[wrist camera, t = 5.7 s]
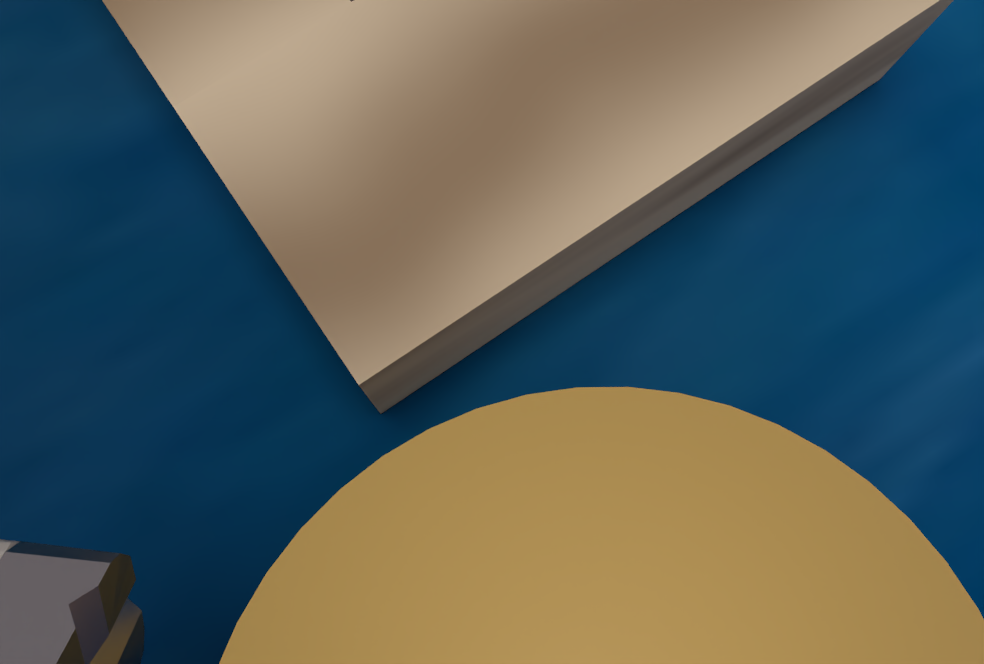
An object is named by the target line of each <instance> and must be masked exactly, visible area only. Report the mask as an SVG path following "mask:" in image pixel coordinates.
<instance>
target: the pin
mask: <svg viewBox="0 0 984 664" xmlns="http://www.w3.org/2000/svg"><path fill="white" fill-rule="evenodd" d="M219 664H984V619H983V617H982V615H981V613H980V612H979V610H978V608H977V606H976V605H975V603H974V602H973V600H972V599H971V598H970V596H969V595H968V593H967V592H966V590H965V589H964V587H963V586H962V584H961V583H960V581H959V580H958V578H957V577H956V575H955V574H954V572H953V571H952V569H951V568H950V566H949V565H948V563H947V562H946V561H945V559H944V558H943V557H942V556H941V555H940V554H939V552H938V551H937V550H936V549H935V548H934V547H933V546H932V544H931V543H930V542H929V541H928V540H927V539H926V537H925V536H924V535H923V534H922V533H921V532H920V530H919V529H918V528H917V527H916V526H915V525H914V523H913V522H912V521H911V520H910V519H909V518H908V517H907V516H906V515H905V514H904V513H903V512H902V511H900V510H899V509H898V508H897V507H896V506H895V505H894V504H893V503H892V502H891V501H890V500H888V499H887V498H886V497H885V496H884V495H883V494H882V493H881V492H880V491H879V490H878V489H876V488H875V487H874V486H873V485H872V484H871V483H870V482H869V481H867V480H866V479H865V478H863V477H862V476H860V475H859V474H858V473H856V472H855V471H853V470H852V469H851V468H849V467H848V466H846V465H845V464H844V463H842V462H841V461H839V460H838V459H837V458H835V457H834V456H833V455H831V454H830V453H828V452H827V451H826V450H824V449H822V448H820V447H818V446H816V445H815V444H813V443H811V442H809V441H807V440H805V439H804V438H802V437H800V436H798V435H796V434H794V433H793V432H791V431H789V430H787V429H785V428H783V427H782V426H780V425H778V424H775V423H773V422H770V421H767V420H765V419H762V418H760V417H757V416H755V415H752V414H750V413H747V412H745V411H742V410H739V409H737V408H734V407H732V406H729V405H725V404H721V403H717V402H713V401H709V400H705V399H701V398H697V397H693V396H689V395H685V394H681V393H675V392H667V391H658V390H650V389H641V388H633V387H579V388H570V389H563V390H556V391H549V392H542V393H535V394H528V395H524V396H520V397H517V398H513V399H509V400H506V401H502V402H499V403H495V404H492V405H488V406H484V407H481V408H477V409H475V410H472V411H470V412H468V413H465V414H463V415H461V416H458V417H456V418H454V419H451V420H449V421H446V422H444V423H442V424H439V425H437V426H435V427H432V428H430V429H428V430H426V431H425V432H423V433H421V434H419V435H418V436H416V437H414V438H413V439H411V440H409V441H408V442H406V443H404V444H402V445H401V446H399V447H397V448H396V449H394V450H392V451H391V452H389V453H387V454H385V455H384V456H382V457H381V458H380V459H378V460H377V461H376V462H374V463H373V464H372V465H371V466H369V467H368V468H367V469H365V470H364V471H363V472H362V473H360V474H359V475H358V476H356V477H355V478H354V479H353V480H351V481H350V482H349V483H347V484H346V485H345V486H344V487H342V488H341V489H340V490H339V491H338V492H337V493H336V494H335V495H334V496H333V497H332V498H331V499H330V500H329V501H328V502H327V503H326V504H325V505H324V506H323V507H322V508H321V509H320V510H319V511H318V512H317V513H316V514H315V515H314V516H313V517H312V518H311V519H310V520H309V521H308V522H307V523H306V524H305V525H304V526H303V527H302V528H301V529H300V530H299V532H298V533H297V534H296V536H295V537H294V538H293V539H292V541H291V542H290V543H289V545H288V546H287V547H286V548H285V550H284V551H283V552H282V554H281V555H280V556H279V558H278V559H277V560H276V561H275V563H274V564H273V565H272V567H271V568H270V569H269V570H268V572H267V573H266V575H265V576H264V578H263V580H262V581H261V583H260V585H259V586H258V588H257V590H256V592H255V593H254V595H253V597H252V598H251V600H250V602H249V603H248V605H247V607H246V608H245V610H244V612H243V613H242V615H241V617H240V619H239V620H238V622H237V624H236V626H235V628H234V631H233V633H232V635H231V638H230V640H229V642H228V644H227V647H226V649H225V651H224V654H223V656H222V658H221V660H220V663H219Z"/></svg>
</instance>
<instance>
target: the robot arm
mask: <svg viewBox="0 0 984 664" xmlns="http://www.w3.org/2000/svg"><path fill="white" fill-rule="evenodd" d="M135 580H136V578H135V574H134V570H133V565H132V561H131V557H130V556H128V555H125V554H120V553H112V552H104V551H96V550H88V549H80V548H72V547H64V546H55V545H47V544H39V543H31V542H23V541H20V542H19V541H11V540H2V539H0V664H141V659H142V655H143V651H144V622H143V616H142V611H141V610H140V609H139V608H138V607H137V606H136V605H135V604H134V603H133V602H132V601H131V600H129V599H128V598H127V597H128V595H129V593H130V591H131V589H132V587H133V585H134V582H135Z"/></svg>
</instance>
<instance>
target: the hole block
mask: <svg viewBox="0 0 984 664" xmlns="http://www.w3.org/2000/svg"><path fill="white" fill-rule="evenodd" d="M102 1H103V2H104V4H105V5H106V7H107V8H108V10H109V11H110V13H111V14H112V16H113V17H114V19H115V20H116V22H117V23H118V25H119V26H120V28H121V29H122V31H123V32H124V34H125V35H126V37H127V38H128V40H129V41H130V43H131V44H132V46H133V47H134V49H135V50H136V52H137V53H138V55H139V56H140V58H141V59H142V61H143V62H144V64H145V65H146V67H147V68H148V70H149V71H150V73H151V74H152V76H153V77H154V79H155V80H156V82H157V83H158V85H159V86H160V88H161V89H162V91H163V92H164V94H165V95H166V97H167V98H168V100H169V101H170V103H171V104H172V106H173V107H174V109H175V110H176V112H177V113H178V115H179V116H180V118H181V119H182V121H183V122H184V124H185V125H186V127H187V128H188V130H189V131H190V133H191V134H192V136H193V137H194V139H195V140H196V142H197V143H198V145H199V146H200V148H201V149H202V151H203V152H204V154H205V155H206V157H207V158H208V160H209V161H210V163H211V164H212V166H213V167H214V169H215V170H216V172H217V173H218V175H219V176H220V178H221V179H222V181H223V182H224V184H225V185H226V187H227V188H228V190H229V191H230V193H231V194H232V196H233V197H234V199H235V200H236V202H237V203H238V205H239V206H240V208H241V209H242V211H243V212H244V214H245V215H246V217H247V218H248V220H249V221H250V223H251V224H252V226H253V227H254V229H255V230H256V232H257V233H258V235H259V236H260V238H261V239H262V241H263V242H264V244H265V245H266V247H267V248H268V250H269V251H270V253H271V254H272V256H273V257H274V259H275V260H276V262H277V263H278V265H279V266H280V268H281V269H282V271H283V272H284V274H285V275H286V277H287V278H288V280H289V281H290V283H291V284H292V286H293V287H294V289H295V290H296V292H297V293H298V295H299V296H300V298H301V299H302V301H303V302H304V304H305V305H306V307H307V308H308V310H309V311H310V313H311V314H312V316H313V317H314V319H315V320H316V322H317V323H318V325H319V326H320V328H321V329H322V331H323V332H324V334H325V335H326V337H327V338H328V340H329V341H330V343H331V344H332V346H333V347H334V349H335V350H336V352H337V353H338V355H339V356H340V358H341V359H342V361H343V362H344V364H345V365H346V367H347V368H348V370H349V371H350V373H351V374H352V376H353V377H354V379H355V380H356V382H357V383H358V385H359V386H360V388H361V389H362V390H363V391H364V393H365V394H366V395H367V397H368V398H369V399H370V401H371V402H372V403H373V405H374V406H375V407H376V408H377V410H378V411H379V412H380V414H381V413H383V412H384V411H386V410H387V409H389V408H390V407H392V406H393V405H395V404H396V403H398V402H399V401H401V400H402V399H404V398H405V397H407V396H408V395H410V394H411V393H413V392H414V391H416V390H417V389H419V388H420V387H422V386H423V385H425V384H426V383H428V382H429V381H431V380H432V379H434V378H435V377H437V376H438V375H440V374H441V373H443V372H444V371H446V370H447V369H449V368H450V367H452V366H453V365H455V364H456V363H458V362H459V361H461V360H462V359H464V358H465V357H467V356H468V355H469V354H471V353H472V352H474V351H475V350H477V349H478V348H480V347H481V346H483V345H484V344H486V343H487V342H489V341H490V340H492V339H493V338H495V337H496V336H498V335H499V334H501V333H502V332H504V331H505V330H507V329H508V328H510V327H511V326H513V325H514V324H516V323H517V322H519V321H520V320H522V319H523V318H525V317H526V316H528V315H529V314H531V313H532V312H534V311H535V310H537V309H538V308H540V307H541V306H543V305H544V304H546V303H547V302H549V301H550V300H552V299H553V298H554V297H556V296H557V295H559V294H560V293H562V292H563V291H565V290H566V289H568V288H569V287H571V286H572V285H574V284H575V283H577V282H578V281H580V280H581V279H583V278H584V277H586V276H587V275H589V274H590V273H592V272H593V271H595V270H596V269H598V268H599V267H601V266H602V265H604V264H605V263H607V262H608V261H610V260H611V259H613V258H614V257H616V256H617V255H619V254H620V253H622V252H623V251H625V250H626V249H628V248H629V247H631V246H632V245H634V244H635V243H637V242H638V241H640V240H641V239H642V238H644V237H645V236H647V235H648V234H650V233H651V232H653V231H654V230H656V229H657V228H659V227H660V226H662V225H663V224H665V223H666V222H668V221H669V220H671V219H672V218H674V217H675V216H677V215H678V214H680V213H681V212H683V211H684V210H686V209H687V208H689V207H690V206H692V205H693V204H695V203H696V202H698V201H699V200H701V199H702V198H704V197H705V196H707V195H708V194H710V193H711V192H713V191H714V190H716V189H717V188H719V187H720V186H722V185H723V184H725V183H726V182H727V181H729V180H730V179H732V178H733V177H735V176H736V175H738V174H739V173H741V172H742V171H744V170H745V169H747V168H748V167H750V166H751V165H753V164H754V163H756V162H757V161H759V160H760V159H762V158H763V157H765V156H766V155H768V154H769V153H771V152H772V151H774V150H775V149H777V148H778V147H780V146H781V145H783V144H784V143H786V142H787V141H789V140H790V139H792V138H793V137H795V136H796V135H798V134H799V133H801V132H802V131H804V130H805V129H807V128H808V127H810V126H811V125H813V124H814V123H815V122H817V121H818V120H820V119H821V118H823V117H824V116H826V115H827V114H829V113H830V112H832V111H833V110H835V109H836V108H838V107H839V106H841V105H842V104H844V103H845V102H847V101H848V100H850V99H851V98H853V97H854V96H856V95H857V94H859V93H860V92H862V91H863V90H865V89H866V88H868V87H869V86H871V85H872V84H874V83H875V82H877V81H878V80H880V79H881V77H882V76H883V75H884V74H885V73H886V72H887V71H888V70H889V69H890V68H891V67H892V66H893V65H894V63H895V62H896V61H897V60H898V59H899V58H900V57H901V56H902V55H903V54H904V53H905V52H906V51H907V50H908V48H909V47H910V46H911V45H912V44H913V43H914V42H915V41H916V40H917V39H918V38H919V37H920V36H921V35H922V33H923V32H924V31H925V30H926V29H927V28H928V27H929V26H930V25H931V24H932V23H933V22H934V21H935V20H936V18H937V17H938V16H939V15H940V14H941V13H942V12H943V11H944V10H945V9H946V8H947V7H948V6H949V5H950V3H951V2H952V1H953V0H102Z"/></svg>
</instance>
